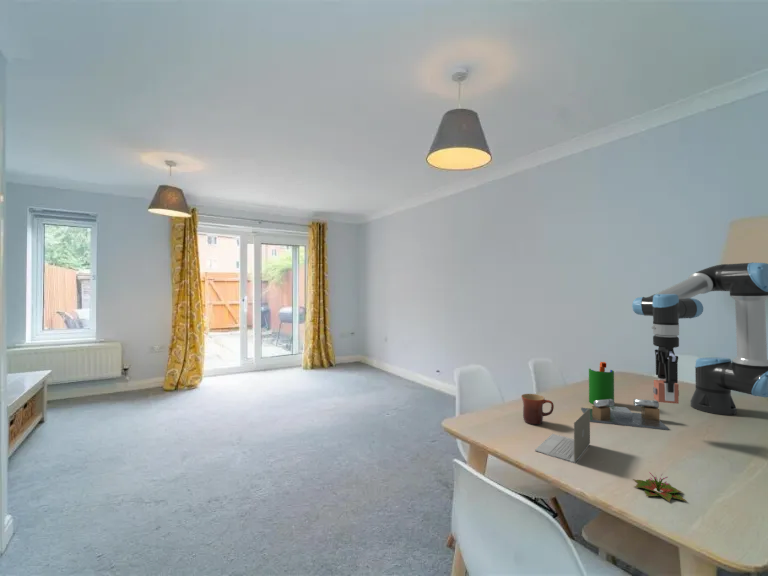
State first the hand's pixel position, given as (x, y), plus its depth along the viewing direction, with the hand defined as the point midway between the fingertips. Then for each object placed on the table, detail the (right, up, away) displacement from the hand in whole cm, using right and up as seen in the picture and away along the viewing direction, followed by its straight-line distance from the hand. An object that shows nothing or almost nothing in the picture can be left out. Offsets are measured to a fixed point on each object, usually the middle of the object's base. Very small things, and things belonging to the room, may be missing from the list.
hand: (666, 398), depth 132 cm
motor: (-2, -14, +35) cm, 38 cm away
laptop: (-44, -14, -10) cm, 47 cm away
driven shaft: (-13, -13, +16) cm, 24 cm away
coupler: (0, -1, 0) cm, 1 cm away
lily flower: (-31, -14, -36) cm, 49 cm away
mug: (-43, -14, +12) cm, 46 cm away
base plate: (-6, -14, +16) cm, 22 cm away
